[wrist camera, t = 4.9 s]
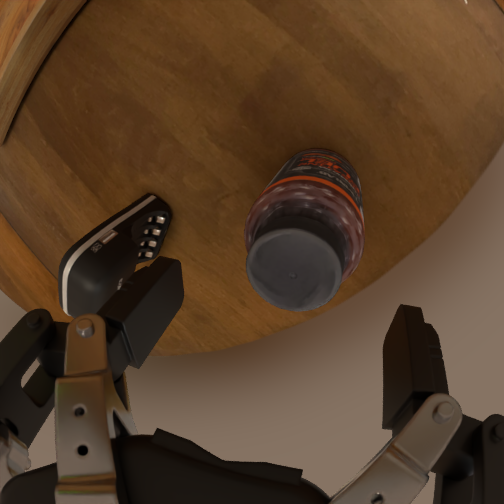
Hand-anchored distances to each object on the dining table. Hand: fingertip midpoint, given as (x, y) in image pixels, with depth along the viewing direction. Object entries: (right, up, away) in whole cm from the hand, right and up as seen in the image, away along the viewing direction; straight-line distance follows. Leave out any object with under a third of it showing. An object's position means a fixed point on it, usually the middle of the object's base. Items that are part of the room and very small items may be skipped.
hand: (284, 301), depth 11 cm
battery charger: (-10, +4, +17) cm, 20 cm away
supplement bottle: (+4, +7, +11) cm, 13 cm away
